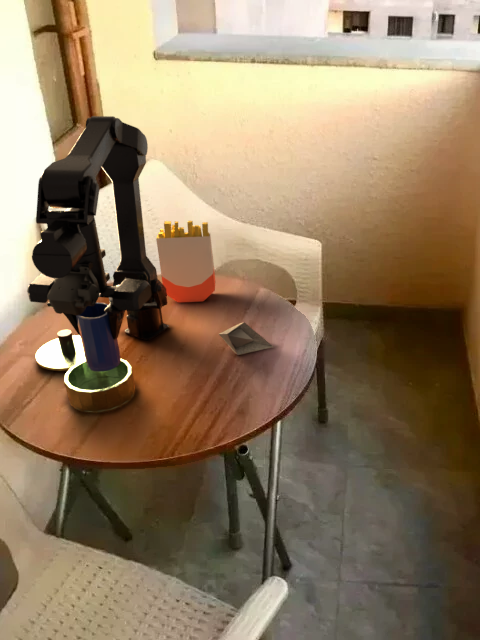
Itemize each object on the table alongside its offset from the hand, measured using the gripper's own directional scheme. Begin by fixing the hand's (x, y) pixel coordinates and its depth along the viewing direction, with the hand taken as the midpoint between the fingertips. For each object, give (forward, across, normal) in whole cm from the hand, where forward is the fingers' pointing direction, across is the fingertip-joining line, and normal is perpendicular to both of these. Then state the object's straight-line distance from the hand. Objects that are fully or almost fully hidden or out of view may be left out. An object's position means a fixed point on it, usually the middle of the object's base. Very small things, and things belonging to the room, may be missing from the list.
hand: (98, 336), depth 120 cm
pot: (+12, -2, 0) cm, 12 cm away
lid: (+12, -14, +11) cm, 21 cm away
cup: (+5, 0, 0) cm, 5 cm away
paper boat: (+12, +19, +18) cm, 29 cm away
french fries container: (+13, +1, +39) cm, 41 cm away
